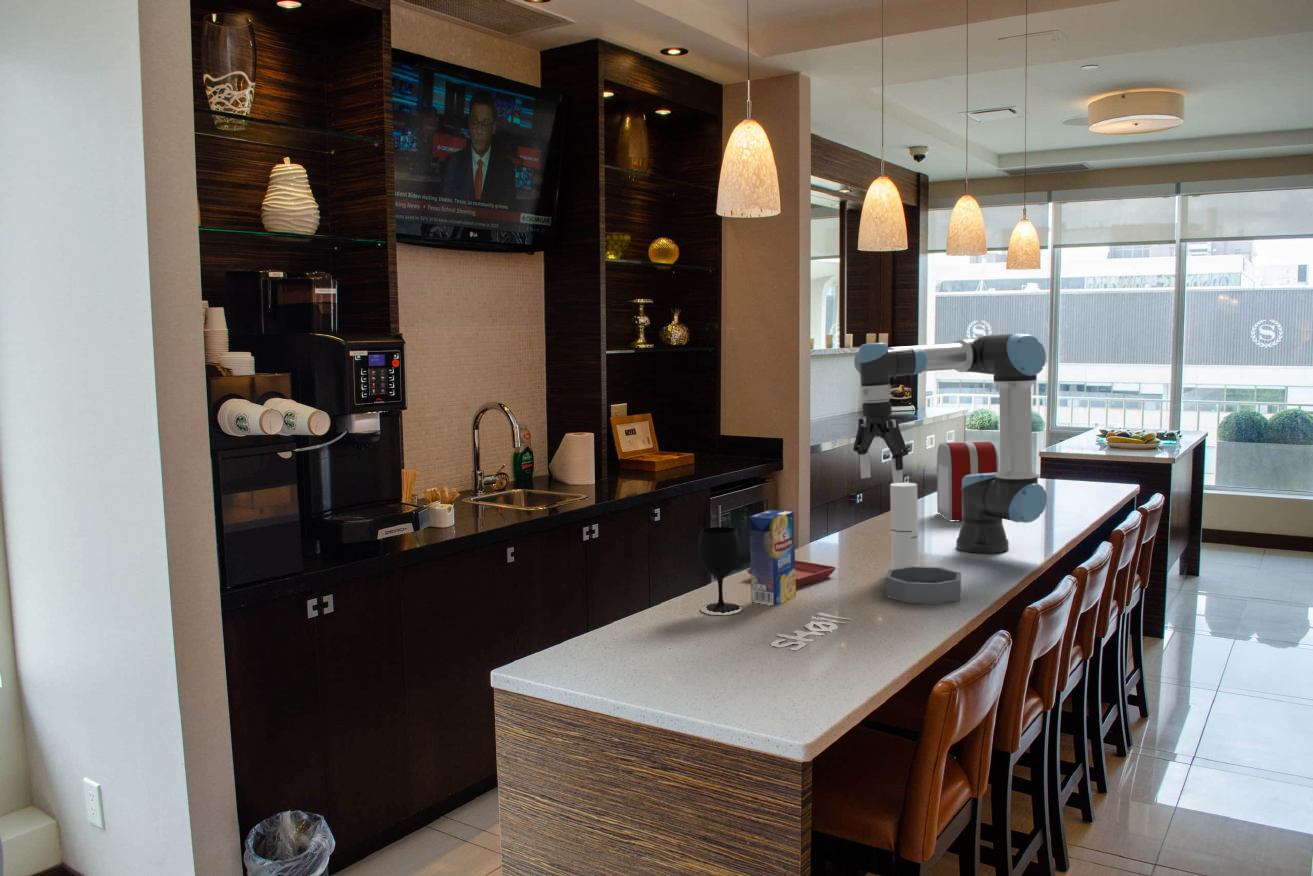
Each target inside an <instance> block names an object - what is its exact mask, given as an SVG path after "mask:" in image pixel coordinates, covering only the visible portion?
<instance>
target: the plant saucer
mask: <svg viewBox="0 0 1313 876" xmlns="http://www.w3.org/2000/svg"><path fill="white" fill-rule="evenodd" d="M836 569H837V567H836V566H832V565H826V564H821V563H820V564H819V563H815V562H814V563H813V562H808V561H802V560H797V559H795V579H796V588H799V586H800V587H802V585H803V586H805V585H808V584H812V583H815V582H818V581H821V580H823V579H828V578H829V577H830V576H831V574H833V572H834V571H835V570H836ZM746 572H747V573H748V574H749V575H750V576H751V571H750V568H746Z"/></svg>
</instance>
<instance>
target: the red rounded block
mask: <svg viewBox="0 0 1313 876" xmlns="http://www.w3.org/2000/svg"><path fill="white" fill-rule="evenodd" d="M999 462H1000V458H999V452H998V449H997V446H996V445H995V444H994V442H992V441H990V440H974V441H969V440H968V441H949V442H946V441H944V442H942V443H939V444H938V446H937V451H936V503H937V505H936V506H937V512H938V513H940V514H941V515H943V516H944V517H946V519H948V520H962V492H961V487H962V479H963V477H964V476H966V475H971V474H981V473H998V472H999V470H1000V467H999V465H1000V463H999ZM946 519H945V520H946ZM948 520H947V521H948Z"/></svg>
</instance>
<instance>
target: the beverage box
mask: <svg viewBox="0 0 1313 876" xmlns="http://www.w3.org/2000/svg"><path fill="white" fill-rule="evenodd" d="M748 533H749V534H748V535H749V536H748V537H749V561H750V562H749V563H750V564H749V565H750V566H749V567H750V568H749V569H750V571H751V575H750V594H751V595H750V597H751V598H750V599H751V601H752V602H759V603H765V604H771V605H777V604H779V605H781V604H783V603H785V602H787V601H789V600H791V599H793V598H795V597H797V587H796V579H795V560H796V548H795V547H796V544H795V513H794V511H788V510H775V509H769V510H766V511H762V512H760V513H756V514H753V515H750V516H748ZM794 596H795V597H794ZM788 599H789V600H788ZM751 601H750V602H751ZM784 601H785V602H784ZM782 602H783V603H782ZM780 603H781V604H780ZM777 606H778V605H777Z"/></svg>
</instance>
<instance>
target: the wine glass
mask: <svg viewBox="0 0 1313 876" xmlns="http://www.w3.org/2000/svg"><path fill="white" fill-rule="evenodd" d="M697 555H698V559H699V562H700V563H701V565H702V566H703V568H704V570H706V572H708V573H709V574H710V575H712V576H713V577H714V578H715V579H716V581H717V587H718V599H717V602H713V603H708V604H709V605H708V604H706V605H707V607H706V608H707V610H709V611H713V612H721V613H725V612H730V611H734V610H738V609H740V608H739V607H740V606H741V605H739V604H737V603H736V604H737V605H736V604H735V603H731V602H725V601H724V596H723V592H724V591H723V583H724V579H725V577H727V576H728V575H729V574H730V573H731V572H732V571H733V570H734V569H735V568H736V567H737V564H738V563H739V561H740V557H741V542H740V538H739V535H738V531H737V529H736V528H734V527H730V526H729V527H728V526H712V527H706V528H702V529H701V530H700V533H699V536H698V542H697ZM738 605H739V606H738Z"/></svg>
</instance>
